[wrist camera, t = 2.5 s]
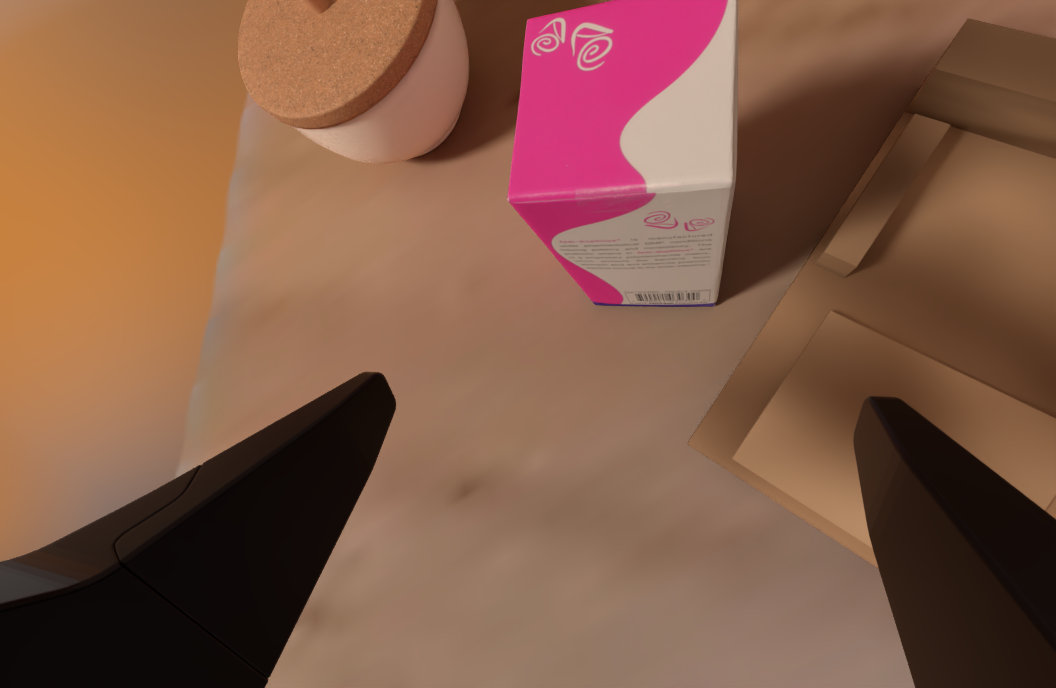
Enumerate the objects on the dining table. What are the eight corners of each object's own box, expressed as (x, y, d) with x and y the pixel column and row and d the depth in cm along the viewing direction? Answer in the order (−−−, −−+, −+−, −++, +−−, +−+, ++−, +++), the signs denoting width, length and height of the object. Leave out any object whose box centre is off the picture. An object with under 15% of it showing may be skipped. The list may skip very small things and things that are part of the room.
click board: (997, 643, 16) (1073, 700, 13) (687, 442, 21) (686, 447, 17) (1317, 199, 15) (1487, 140, 12) (922, 84, 20) (967, 18, 16)
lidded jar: (487, 190, 26) (382, 75, 17) (333, 198, 30) (182, 107, 21) (508, 15, 27) (421, -175, 18) (358, 44, 31) (226, -104, 22)
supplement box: (721, 184, 22) (749, -40, 11) (717, 308, 21) (741, 197, 10) (598, 193, 24) (521, 9, 13) (590, 307, 23) (501, 211, 12)
